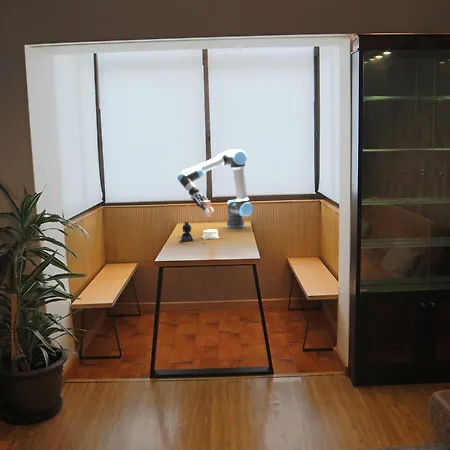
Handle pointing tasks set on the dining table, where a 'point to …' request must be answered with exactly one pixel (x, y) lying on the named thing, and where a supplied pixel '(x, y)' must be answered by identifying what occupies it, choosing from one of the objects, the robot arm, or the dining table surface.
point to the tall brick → (208, 206)
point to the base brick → (210, 233)
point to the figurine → (186, 232)
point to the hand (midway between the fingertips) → (210, 212)
